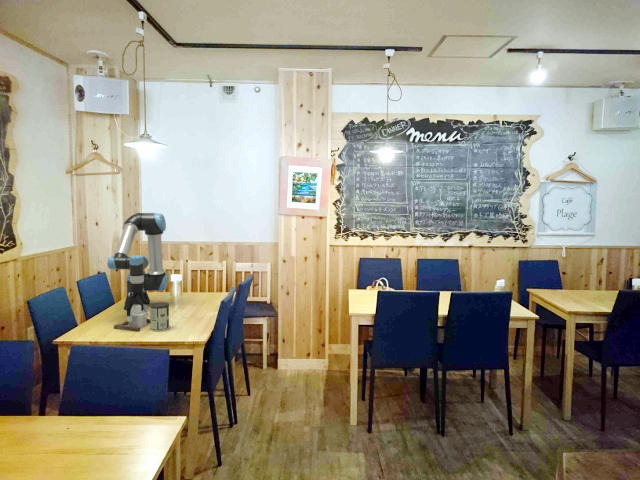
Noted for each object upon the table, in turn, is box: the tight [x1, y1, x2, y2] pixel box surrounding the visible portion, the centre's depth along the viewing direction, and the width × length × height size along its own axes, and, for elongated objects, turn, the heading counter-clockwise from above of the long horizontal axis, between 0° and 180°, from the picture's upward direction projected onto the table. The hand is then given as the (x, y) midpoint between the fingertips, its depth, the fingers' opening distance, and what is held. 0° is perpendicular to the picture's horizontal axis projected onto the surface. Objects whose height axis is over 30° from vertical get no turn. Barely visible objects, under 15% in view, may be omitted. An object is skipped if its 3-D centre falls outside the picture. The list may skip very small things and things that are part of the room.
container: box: [128, 303, 148, 329], centre depth 264 cm, size 8×8×13 cm
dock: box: [113, 318, 151, 333], centre depth 265 cm, size 18×16×2 cm
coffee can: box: [149, 302, 170, 332], centre depth 260 cm, size 10×10×14 cm
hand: (137, 318), depth 264 cm, fingers open, 13 cm apart
